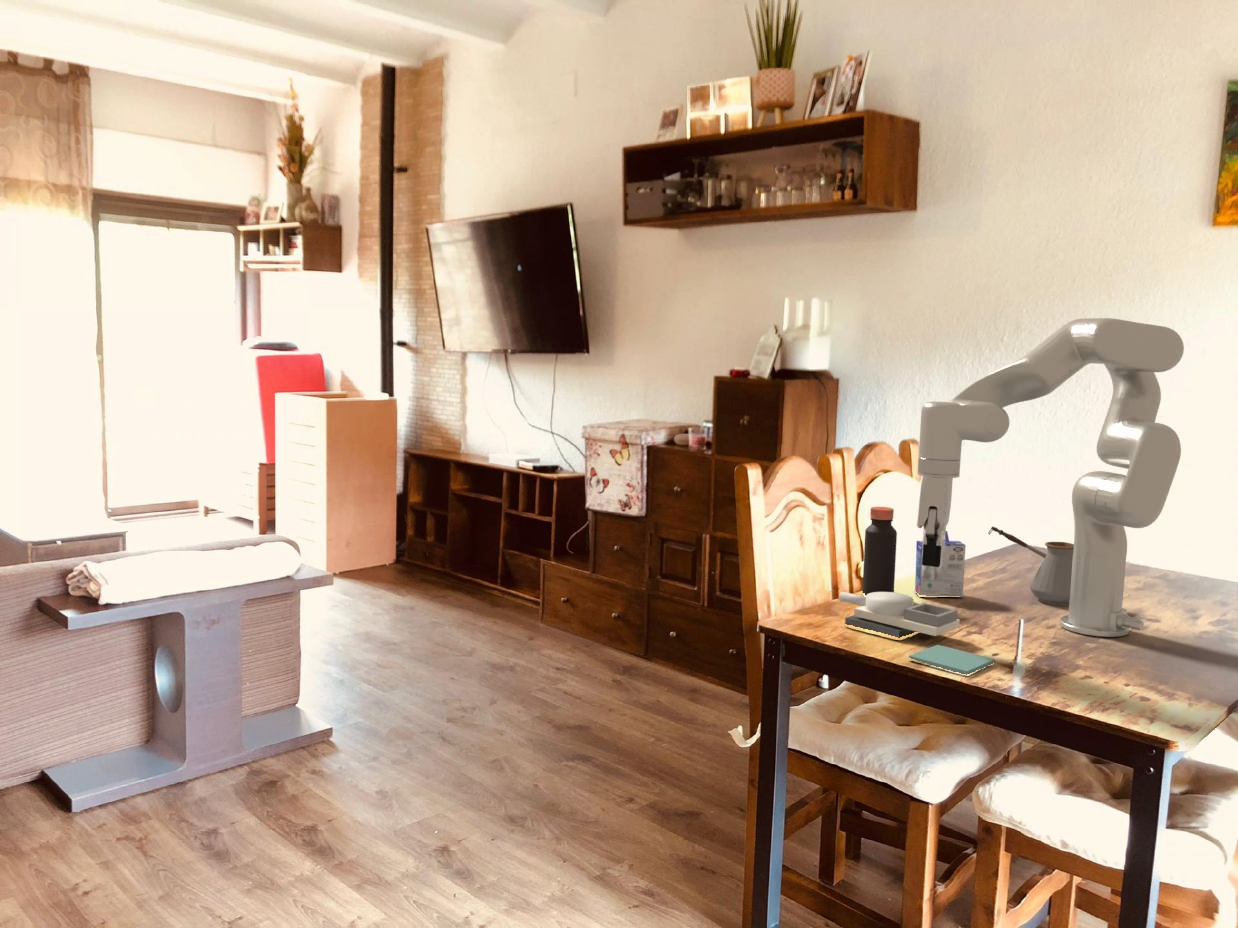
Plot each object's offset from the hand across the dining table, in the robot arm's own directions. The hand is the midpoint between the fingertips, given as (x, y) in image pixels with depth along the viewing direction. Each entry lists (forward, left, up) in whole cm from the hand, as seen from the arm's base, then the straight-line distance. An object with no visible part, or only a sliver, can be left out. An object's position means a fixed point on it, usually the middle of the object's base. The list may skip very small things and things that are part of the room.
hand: (932, 562), depth 188 cm
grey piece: (0, 0, -3) cm, 3 cm away
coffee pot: (+1, -47, -15) cm, 50 cm away
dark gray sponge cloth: (+9, 0, -15) cm, 17 cm away
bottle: (+24, -20, -15) cm, 35 cm away
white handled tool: (+8, 0, -13) cm, 15 cm away
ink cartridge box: (+16, -32, -15) cm, 39 cm away
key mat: (-10, +10, -15) cm, 21 cm away
